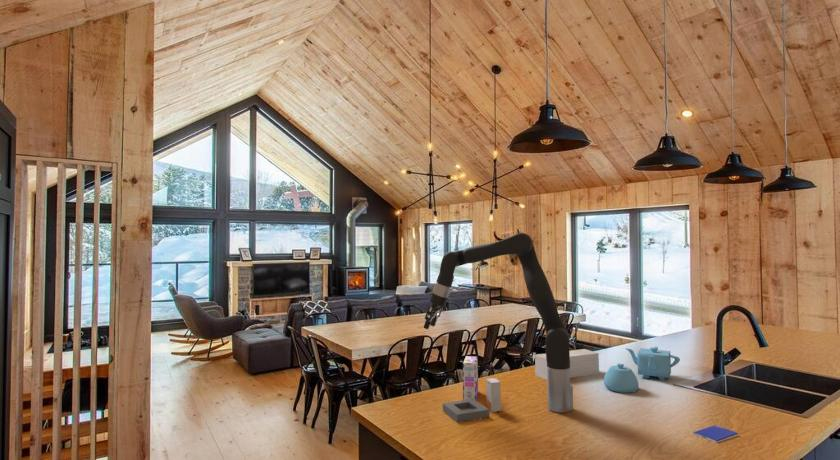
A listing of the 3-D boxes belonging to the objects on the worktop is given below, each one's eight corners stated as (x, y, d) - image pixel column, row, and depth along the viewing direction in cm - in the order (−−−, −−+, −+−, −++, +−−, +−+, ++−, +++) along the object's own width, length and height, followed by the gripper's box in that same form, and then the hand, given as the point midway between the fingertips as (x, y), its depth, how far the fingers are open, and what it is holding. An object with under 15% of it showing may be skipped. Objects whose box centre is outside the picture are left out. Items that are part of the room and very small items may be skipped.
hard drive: (713, 424, 168) (692, 431, 162) (737, 432, 161) (716, 440, 155) (714, 429, 168) (693, 436, 162) (738, 437, 161) (716, 444, 155)
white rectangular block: (548, 381, 229) (547, 359, 229) (535, 375, 239) (535, 354, 239) (599, 373, 240) (598, 353, 240) (585, 368, 250) (584, 349, 250)
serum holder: (473, 405, 194) (473, 398, 194) (489, 417, 181) (489, 409, 181) (442, 410, 189) (442, 403, 189) (457, 422, 176) (456, 414, 176)
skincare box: (486, 407, 192) (485, 378, 192) (496, 406, 193) (495, 377, 193) (491, 412, 186) (491, 382, 187) (501, 411, 187) (500, 381, 187)
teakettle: (684, 380, 225) (683, 350, 226) (651, 383, 221) (650, 352, 222) (656, 370, 244) (655, 342, 244) (625, 373, 239) (624, 344, 240)
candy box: (476, 401, 200) (475, 363, 200) (462, 400, 201) (462, 362, 201) (478, 391, 213) (477, 355, 214) (466, 391, 214) (465, 355, 215)
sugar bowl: (631, 384, 221) (631, 360, 221) (644, 394, 206) (643, 368, 206) (599, 383, 222) (599, 359, 223) (609, 393, 207) (608, 368, 208)
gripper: (442, 298, 199) (431, 333, 200) (452, 295, 212) (441, 327, 214) (427, 292, 202) (416, 326, 203) (438, 289, 215) (427, 321, 216)
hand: (429, 327), depth 208 cm, fingers open, 8 cm apart
